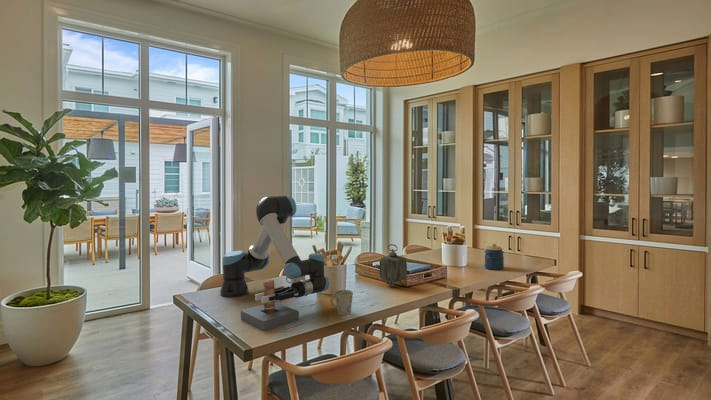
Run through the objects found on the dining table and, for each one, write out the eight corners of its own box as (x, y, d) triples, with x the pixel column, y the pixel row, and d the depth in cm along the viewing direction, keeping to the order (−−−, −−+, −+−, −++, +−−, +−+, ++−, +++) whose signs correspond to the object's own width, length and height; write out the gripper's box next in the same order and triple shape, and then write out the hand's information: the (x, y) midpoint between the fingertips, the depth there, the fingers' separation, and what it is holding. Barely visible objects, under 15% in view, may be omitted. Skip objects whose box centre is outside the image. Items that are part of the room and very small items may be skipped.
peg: (261, 316, 179) (261, 281, 178) (271, 313, 182) (270, 279, 182) (267, 318, 175) (266, 283, 174) (277, 315, 179) (276, 281, 178)
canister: (486, 270, 272) (486, 244, 271) (483, 266, 284) (483, 242, 284) (505, 270, 270) (505, 245, 269) (501, 266, 282) (502, 242, 282)
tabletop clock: (407, 286, 232) (406, 244, 231) (398, 289, 225) (398, 246, 224) (387, 282, 241) (386, 242, 240) (378, 285, 235) (377, 244, 233)
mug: (346, 317, 180) (346, 295, 180) (324, 312, 187) (324, 292, 187) (356, 312, 188) (356, 291, 187) (334, 307, 194) (334, 287, 194)
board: (240, 319, 180) (240, 310, 180) (274, 310, 192) (274, 301, 192) (263, 330, 165) (263, 321, 165) (298, 319, 178) (298, 311, 178)
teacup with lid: (303, 283, 243) (303, 264, 242) (307, 287, 234) (307, 267, 234) (284, 285, 238) (283, 266, 237) (287, 289, 229) (287, 269, 229)
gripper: (312, 299, 184) (269, 311, 168) (291, 292, 197) (249, 303, 181) (312, 284, 184) (269, 294, 168) (290, 277, 197) (248, 287, 181)
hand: (258, 298), depth 175 cm, fingers closed on peg, 5 cm apart
